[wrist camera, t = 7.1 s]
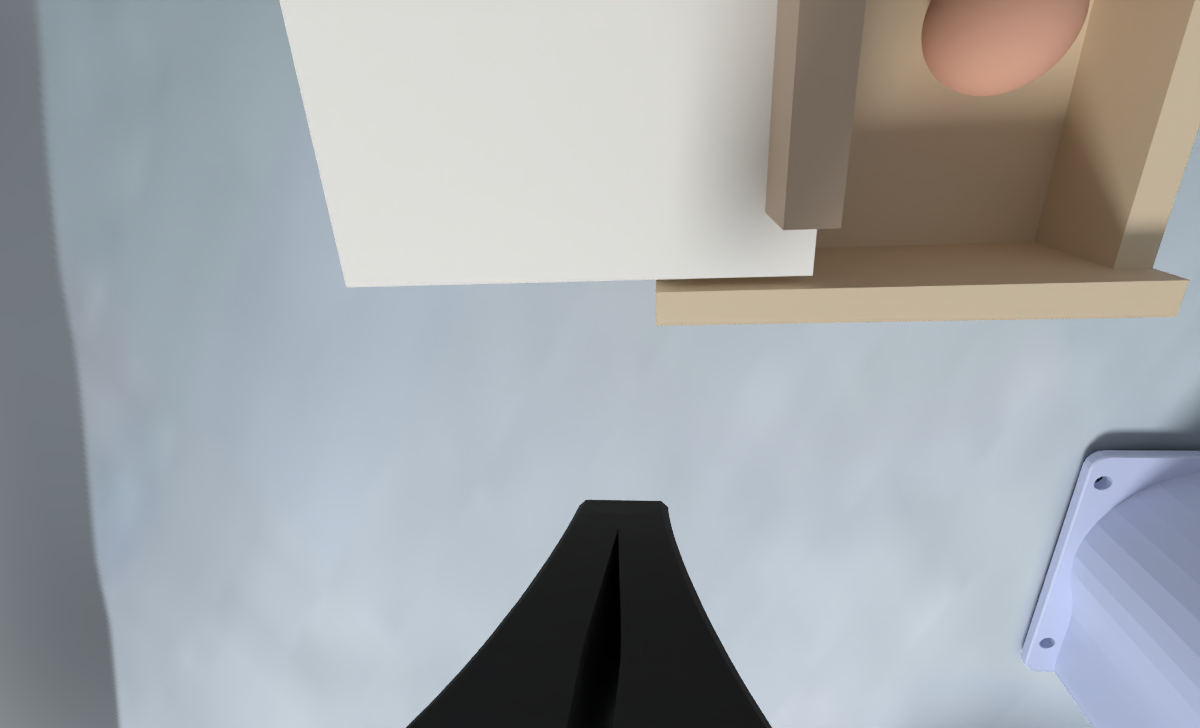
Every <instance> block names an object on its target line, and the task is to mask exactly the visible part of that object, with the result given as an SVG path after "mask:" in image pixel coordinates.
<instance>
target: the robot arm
mask: <svg viewBox="0 0 1200 728" xmlns="http://www.w3.org/2000/svg"><path fill="white" fill-rule="evenodd" d="M1100 477H1103V478H1102V479H1101V480H1100V481H1098V482H1095V481H1096V479H1098V478H1100ZM1021 659H1022V660H1023V662H1024V663H1025V665H1026V667H1027V668H1029V669H1030V670H1034V671H1046V672H1055V674H1056V675H1057V677H1058V678H1059V680H1060V681H1061V682H1062V684H1063V685H1064V687H1065V688H1066V690H1067V691H1068V692H1069V694H1070V695H1071V697H1072V698H1073V700H1074V701H1075V702H1076V704H1077V705H1078V707H1079V708H1080V710H1081V711H1082V712H1083V714H1084V715H1085V717H1086V718H1087V720H1088V721H1089V722H1090V724H1091V725H1092V727H1093V728H1200V451H1148V450H1103V451H1097V452H1095V453H1093V454H1091V455H1090V456H1088V457H1087V458H1086V460H1085V461H1084V463H1083V466H1082V469H1081V472H1080V475H1079V478H1078V481H1077V484H1076V487H1075V490H1074V493H1073V496H1072V499H1071V502H1070V505H1069V508H1068V511H1067V514H1066V517H1065V521H1064V524H1063V527H1062V530H1061V533H1060V536H1059V539H1058V542H1057V545H1056V548H1055V551H1054V554H1053V557H1052V560H1051V563H1050V566H1049V569H1048V572H1047V575H1046V579H1045V582H1044V585H1043V588H1042V591H1041V594H1040V597H1039V600H1038V603H1037V606H1036V609H1035V612H1034V615H1033V618H1032V621H1031V624H1030V627H1029V630H1028V633H1027V637H1026V640H1025V643H1024V646H1023V649H1022V652H1021ZM406 728H772V727H771V725H770V724H769V722H768V721H767V719H766V718H765V716H764V714H763V713H762V711H761V710H760V708H759V707H758V705H757V703H756V702H755V700H754V699H753V697H752V695H751V694H750V692H749V691H748V689H747V687H746V686H745V684H744V682H743V681H742V679H741V677H740V675H739V674H738V672H737V670H736V669H735V667H734V665H733V663H732V662H731V660H730V658H729V656H728V654H727V652H726V651H725V649H724V647H723V645H722V643H721V641H720V639H719V638H718V636H717V634H716V632H715V630H714V628H713V626H712V624H711V622H710V620H709V618H708V616H707V614H706V612H705V610H704V608H703V606H702V604H701V602H700V599H699V597H698V595H697V593H696V591H695V588H694V586H693V584H692V582H691V580H690V577H689V575H688V573H687V570H686V568H685V565H684V563H683V560H682V558H681V555H680V552H679V549H678V546H677V544H676V541H675V537H674V534H673V531H672V527H671V523H670V518H669V513H668V507H667V506H666V505H665V504H664V503H663V502H662V501H622V500H585V501H584V502H583V503H582V504H581V505H580V506H579V508H578V510H577V512H576V514H575V515H574V517H573V519H572V521H571V523H570V524H569V526H568V528H567V529H566V531H565V533H564V534H563V536H562V538H561V539H560V541H559V542H558V544H557V546H556V547H555V549H554V550H553V552H552V553H551V555H550V557H549V558H548V560H547V561H546V562H545V564H544V565H543V567H542V568H541V570H540V571H539V572H538V574H537V575H536V577H535V578H534V580H533V581H532V582H531V584H530V585H529V587H528V588H527V590H526V591H525V592H524V594H523V595H522V596H521V598H520V599H519V601H518V602H517V603H516V604H515V606H514V607H513V608H512V609H511V611H510V612H509V613H508V615H507V616H506V617H505V618H504V620H503V621H502V622H501V623H500V625H499V626H498V627H497V628H496V630H495V631H494V632H493V634H492V635H491V636H490V637H489V639H488V640H487V641H486V642H485V643H484V645H483V646H482V647H481V648H480V649H479V650H478V652H477V653H476V654H475V655H474V656H473V657H472V659H471V660H470V661H469V662H468V663H467V664H466V665H465V667H464V668H463V669H462V670H461V671H460V672H459V673H458V674H457V676H456V677H455V678H454V679H453V680H452V681H451V682H450V683H449V684H448V685H447V686H446V687H445V688H444V690H443V691H442V692H441V693H440V694H439V695H438V696H437V697H436V698H435V699H434V700H433V701H432V702H431V703H430V704H429V705H428V706H427V707H426V708H425V709H424V710H423V711H422V712H421V713H420V714H419V715H418V716H417V717H416V718H415V719H414V720H413V721H412V722H411V723H410V724H409V725H408V726H407V727H406Z"/></svg>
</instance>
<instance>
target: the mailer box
mask: <svg viewBox="0 0 1200 728" xmlns="http://www.w3.org/2000/svg"><path fill="white" fill-rule="evenodd" d="M930 2H931V0H866V7H865V16H864V25H863V34H862V43H861V52H860V61H859V70H858V79H857V88H856V97H855V106H854V115H853V124H852V133H851V142H850V151H849V160H848V169H847V178H846V187H845V196H844V205H843V214H842V223H841V228H836V229H817V235H816V246H815V256H814V267H813V276H776V277H737V278H697V279H658V280H656V326H657V325H717V324H777V323H837V322H897V321H956V320H1016V319H1076V318H1136V317H1176V316H1177V314H1178V311H1179V308H1180V305H1181V303H1182V300H1183V297H1184V294H1185V291H1186V289H1187V286H1188V283H1189V280H1187V279H1184V278H1181V277H1178V276H1175V275H1172V274H1169V273H1166V272H1163V271H1160V270H1157V269H1153V265H1154V261H1155V258H1156V255H1157V252H1158V249H1159V246H1160V243H1161V240H1162V237H1163V234H1164V231H1165V228H1166V225H1167V222H1168V219H1169V216H1170V213H1171V210H1172V207H1173V204H1174V201H1175V198H1176V195H1177V192H1178V189H1179V186H1180V183H1181V180H1182V177H1183V174H1184V171H1185V168H1186V165H1187V162H1188V159H1189V156H1190V153H1191V150H1192V147H1193V144H1194V141H1195V138H1196V135H1197V132H1198V129H1199V126H1200V0H1090V3H1089V9H1088V13H1087V16H1086V19H1085V22H1084V24H1083V27H1082V29H1081V31H1080V33H1079V35H1078V36H1077V38H1076V40H1075V41H1074V43H1073V44H1072V46H1071V47H1070V48H1069V50H1068V51H1067V52H1066V53H1065V55H1064V56H1063V57H1062V58H1061V59H1060V60H1059V61H1058V62H1057V63H1056V64H1055V65H1054V66H1053V67H1052V68H1051V69H1049V70H1048V71H1047V72H1046V73H1044V74H1043V75H1042V76H1040V77H1039V78H1037V79H1036V80H1034V81H1033V82H1031V83H1029V84H1027V85H1025V86H1023V87H1020V88H1018V89H1016V90H1013V91H1010V92H1007V93H1003V94H999V95H992V96H971V95H964V94H961V93H958V92H955V91H953V90H951V89H949V88H947V87H946V86H944V85H943V84H941V83H940V82H939V81H938V80H937V79H936V78H935V77H934V76H933V74H932V73H931V71H930V70H929V68H928V66H927V64H926V62H925V59H924V56H923V51H922V42H921V35H922V26H923V22H924V18H925V15H926V12H927V9H928V6H929V4H930Z"/></svg>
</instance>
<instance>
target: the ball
mask: <svg viewBox="0 0 1200 728" xmlns="http://www.w3.org/2000/svg"><path fill="white" fill-rule="evenodd" d="M1089 3H1090V0H931V2H930V4H929V6H928V9H927V12H926V15H925V18H924V22H923V26H922V35H921V42H922V51H923V56H924V59H925V62H926V64H927V66H928V68H929V70H930V71H931V73H932V74H933V76H934V77H935V78H936V79H937V80H938V81H939V82H940V83H941V84H943V85H944V86H946V87H947V88H949V89H951V90H953V91H955V92H958V93H961V94H964V95H971V96H992V95H999V94H1003V93H1007V92H1010V91H1013V90H1016V89H1018V88H1020V87H1023V86H1025V85H1027V84H1029V83H1031V82H1033V81H1034V80H1036V79H1037V78H1039V77H1040V76H1042V75H1043V74H1044V73H1046V72H1047V71H1048V70H1049V69H1051V68H1052V67H1053V66H1054V65H1055V64H1056V63H1057V62H1058V61H1059V60H1060V59H1061V58H1062V57H1063V56H1064V55H1065V53H1066V52H1067V51H1068V50H1069V48H1070V47H1071V46H1072V44H1073V43H1074V41H1075V40H1076V38H1077V36H1078V35H1079V33H1080V31H1081V29H1082V27H1083V24H1084V22H1085V19H1086V16H1087V13H1088V9H1089Z"/></svg>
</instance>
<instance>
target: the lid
mask: <svg viewBox="0 0 1200 728" xmlns="http://www.w3.org/2000/svg"><path fill="white" fill-rule="evenodd" d="M280 5H281V9H282V13H283V18H284V22H285V26H286V30H287V35H288V39H289V43H290V48H291V52H292V56H293V61H294V65H295V69H296V73H297V78H298V82H299V86H300V91H301V95H302V99H303V103H304V108H305V112H306V116H307V121H308V125H309V129H310V134H311V138H312V142H313V146H314V151H315V155H316V159H317V164H318V168H319V172H320V176H321V181H322V185H323V189H324V194H325V198H326V202H327V207H328V211H329V215H330V219H331V224H332V228H333V232H334V237H335V241H336V245H337V250H338V254H339V258H340V262H341V267H342V271H343V275H344V280H345V284H346V287H381V286H420V285H460V284H500V283H539V282H579V281H618V280H658V279H697V278H737V277H776V276H813V267H814V256H815V246H816V235H817V229H836V228H841V223H842V214H843V205H844V196H845V187H846V178H847V169H848V160H849V151H850V142H851V133H852V124H853V115H854V106H855V97H856V88H857V79H858V70H859V61H860V52H861V43H862V34H863V25H864V16H865V7H866V0H280Z"/></svg>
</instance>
